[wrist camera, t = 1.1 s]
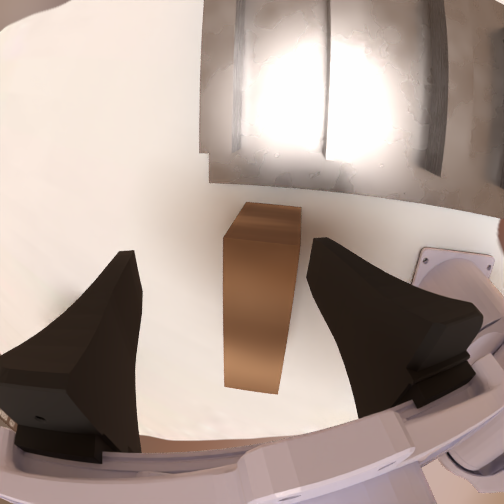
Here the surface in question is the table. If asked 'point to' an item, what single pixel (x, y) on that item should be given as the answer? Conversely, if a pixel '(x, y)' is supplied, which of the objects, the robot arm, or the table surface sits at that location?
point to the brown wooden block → (259, 294)
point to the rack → (357, 98)
